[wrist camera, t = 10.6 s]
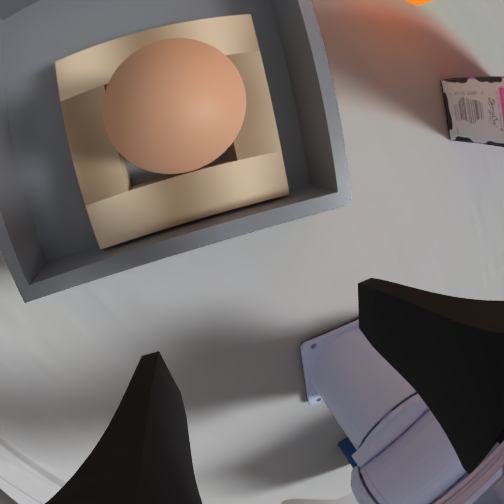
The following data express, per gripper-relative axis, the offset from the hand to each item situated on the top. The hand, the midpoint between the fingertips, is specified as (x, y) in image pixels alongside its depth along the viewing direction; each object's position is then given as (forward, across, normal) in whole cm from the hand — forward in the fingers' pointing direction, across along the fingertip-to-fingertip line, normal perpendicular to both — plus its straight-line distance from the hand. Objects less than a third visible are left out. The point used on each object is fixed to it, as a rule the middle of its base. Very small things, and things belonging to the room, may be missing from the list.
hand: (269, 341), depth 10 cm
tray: (+9, +2, -11) cm, 15 cm away
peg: (+9, +1, -8) cm, 12 cm away
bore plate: (+9, +1, -8) cm, 12 cm away
